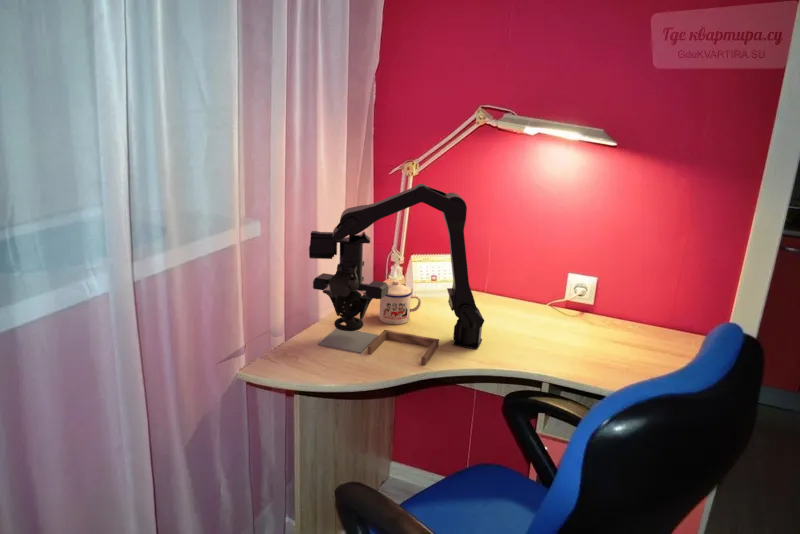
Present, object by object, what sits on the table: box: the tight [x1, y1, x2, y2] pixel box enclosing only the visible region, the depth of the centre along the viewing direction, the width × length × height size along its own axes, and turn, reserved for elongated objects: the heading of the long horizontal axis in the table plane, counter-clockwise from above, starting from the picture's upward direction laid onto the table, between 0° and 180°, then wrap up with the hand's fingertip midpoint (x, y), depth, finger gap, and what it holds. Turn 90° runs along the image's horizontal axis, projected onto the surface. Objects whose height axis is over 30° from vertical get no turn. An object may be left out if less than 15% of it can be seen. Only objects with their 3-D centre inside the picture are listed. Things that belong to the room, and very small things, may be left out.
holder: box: [367, 329, 440, 366], centre depth 152 cm, size 15×12×2 cm
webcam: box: [333, 290, 364, 331], centre depth 153 cm, size 8×8×10 cm
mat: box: [317, 327, 380, 355], centre depth 156 cm, size 12×12×1 cm
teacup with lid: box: [378, 279, 422, 326], centre depth 170 cm, size 12×9×12 cm
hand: (349, 317), depth 154 cm, fingers closed on webcam, 6 cm apart
